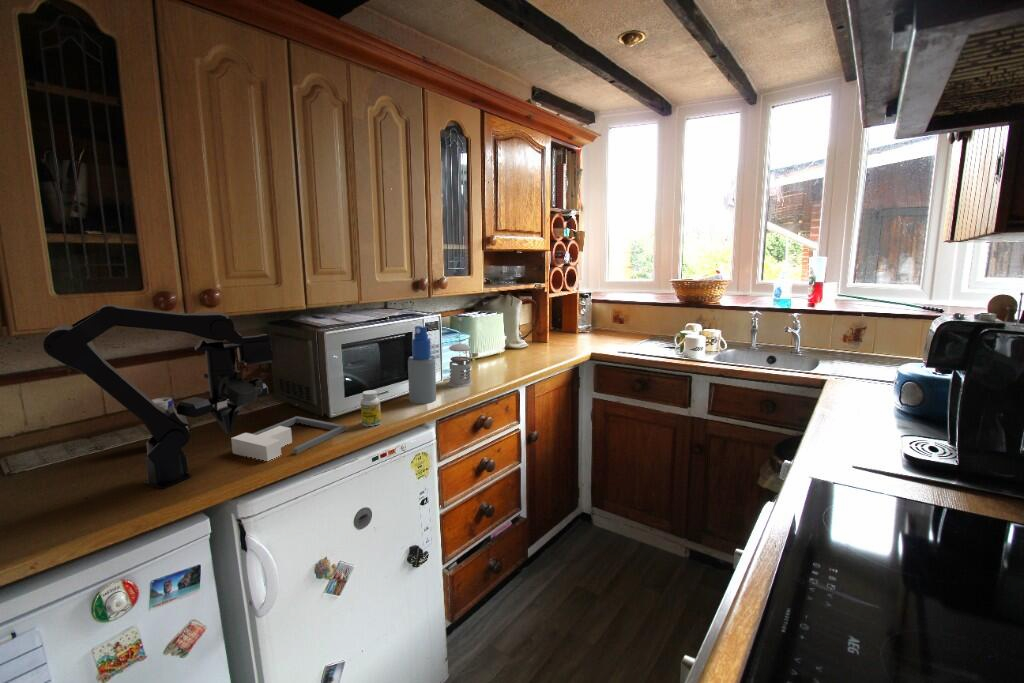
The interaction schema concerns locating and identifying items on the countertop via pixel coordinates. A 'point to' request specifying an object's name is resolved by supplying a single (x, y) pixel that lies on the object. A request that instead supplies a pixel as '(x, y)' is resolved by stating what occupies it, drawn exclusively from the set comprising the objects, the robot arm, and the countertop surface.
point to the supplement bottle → (370, 408)
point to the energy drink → (164, 402)
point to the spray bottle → (421, 369)
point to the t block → (262, 443)
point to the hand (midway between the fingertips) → (228, 433)
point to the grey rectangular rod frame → (316, 423)
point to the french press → (460, 366)
